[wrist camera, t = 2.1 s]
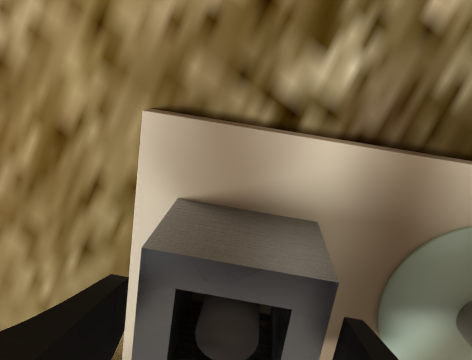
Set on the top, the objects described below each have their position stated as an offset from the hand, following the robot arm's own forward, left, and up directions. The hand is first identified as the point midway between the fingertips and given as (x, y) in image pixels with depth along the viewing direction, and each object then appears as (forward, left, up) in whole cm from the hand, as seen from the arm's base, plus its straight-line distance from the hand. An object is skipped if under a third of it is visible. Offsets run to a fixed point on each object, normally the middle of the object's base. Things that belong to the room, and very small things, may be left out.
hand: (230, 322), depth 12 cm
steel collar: (0, 0, -3) cm, 3 cm away
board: (+5, 0, -4) cm, 7 cm away
